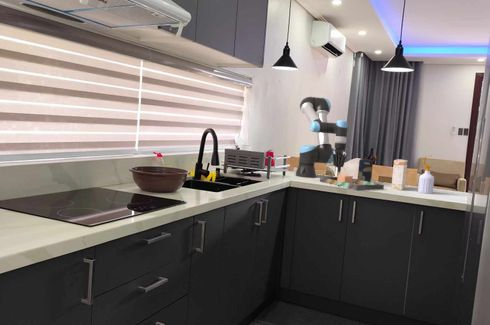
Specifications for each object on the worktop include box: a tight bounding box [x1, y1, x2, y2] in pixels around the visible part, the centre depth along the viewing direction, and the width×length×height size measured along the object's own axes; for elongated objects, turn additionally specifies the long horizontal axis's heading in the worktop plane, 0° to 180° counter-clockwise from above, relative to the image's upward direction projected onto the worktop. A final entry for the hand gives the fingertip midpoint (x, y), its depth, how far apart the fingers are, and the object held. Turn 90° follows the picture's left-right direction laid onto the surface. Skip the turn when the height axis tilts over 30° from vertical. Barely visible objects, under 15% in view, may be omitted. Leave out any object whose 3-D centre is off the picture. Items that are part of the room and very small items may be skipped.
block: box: [337, 174, 354, 184], centre depth 294 cm, size 7×7×6 cm
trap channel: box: [319, 176, 385, 191], centre depth 289 cm, size 34×24×3 cm
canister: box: [357, 157, 374, 182], centre depth 309 cm, size 10×10×18 cm
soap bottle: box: [417, 155, 435, 195], centre depth 280 cm, size 9×9×25 cm
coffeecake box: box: [390, 158, 409, 191], centre depth 290 cm, size 15×7×20 cm, turn 152°
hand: (337, 176), depth 300 cm, fingers closed
